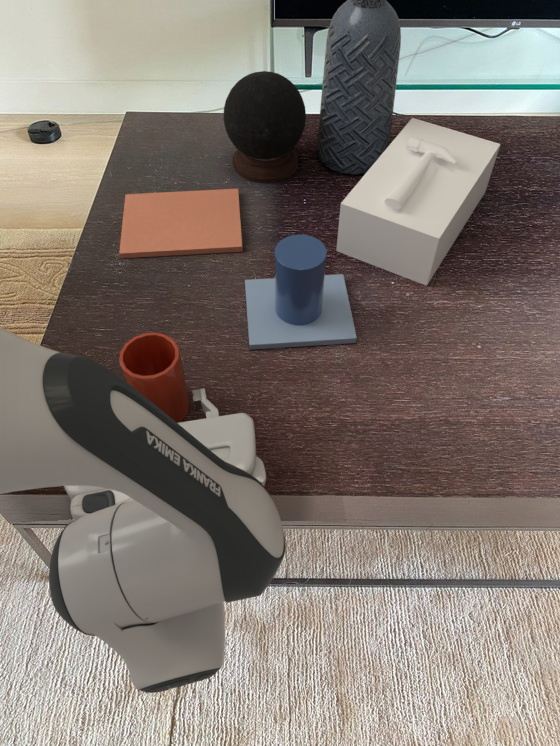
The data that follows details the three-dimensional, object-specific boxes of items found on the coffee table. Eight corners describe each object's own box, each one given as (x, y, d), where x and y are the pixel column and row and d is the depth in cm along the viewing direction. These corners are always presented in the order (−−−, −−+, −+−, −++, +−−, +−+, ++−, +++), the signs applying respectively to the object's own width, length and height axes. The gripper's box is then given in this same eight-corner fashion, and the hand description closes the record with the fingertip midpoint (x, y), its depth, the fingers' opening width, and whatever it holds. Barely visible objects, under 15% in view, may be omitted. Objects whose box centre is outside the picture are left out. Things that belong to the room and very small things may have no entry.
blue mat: (249, 349, 81) (249, 345, 80) (245, 284, 88) (244, 279, 87) (356, 343, 81) (356, 338, 81) (342, 279, 89) (343, 273, 88)
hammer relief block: (485, 191, 101) (504, 130, 92) (426, 285, 88) (442, 224, 79) (403, 165, 105) (414, 104, 97) (336, 251, 92) (342, 189, 84)
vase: (390, 176, 103) (420, -9, 81) (317, 176, 103) (327, -10, 81) (383, 135, 111) (410, -45, 88) (315, 135, 111) (324, -46, 88)
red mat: (120, 258, 91) (119, 253, 90) (126, 199, 100) (125, 194, 99) (242, 251, 92) (242, 246, 91) (238, 193, 101) (238, 188, 100)
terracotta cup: (134, 430, 73) (117, 380, 65) (137, 387, 77) (121, 334, 69) (189, 426, 74) (178, 376, 66) (189, 383, 77) (179, 330, 69)
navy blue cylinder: (277, 326, 82) (276, 271, 74) (273, 292, 86) (272, 235, 78) (325, 323, 82) (330, 268, 74) (319, 289, 86) (323, 232, 78)
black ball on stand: (219, 147, 108) (211, 61, 96) (291, 135, 111) (292, 50, 99) (237, 192, 101) (231, 105, 89) (314, 178, 103) (318, 91, 91)
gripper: (269, 478, 60) (247, 367, 68) (53, 515, 58) (57, 395, 66) (270, 506, 65) (249, 400, 73) (71, 541, 63) (72, 427, 71)
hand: (156, 398), depth 69 cm, fingers open, 8 cm apart
